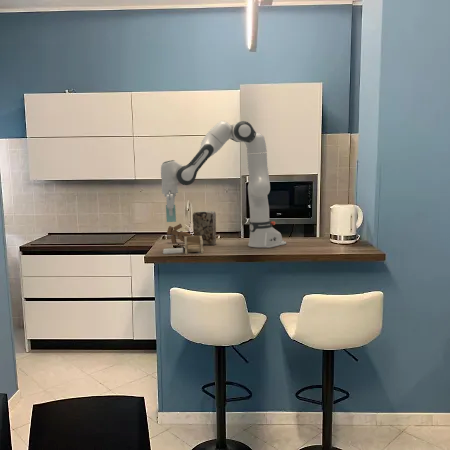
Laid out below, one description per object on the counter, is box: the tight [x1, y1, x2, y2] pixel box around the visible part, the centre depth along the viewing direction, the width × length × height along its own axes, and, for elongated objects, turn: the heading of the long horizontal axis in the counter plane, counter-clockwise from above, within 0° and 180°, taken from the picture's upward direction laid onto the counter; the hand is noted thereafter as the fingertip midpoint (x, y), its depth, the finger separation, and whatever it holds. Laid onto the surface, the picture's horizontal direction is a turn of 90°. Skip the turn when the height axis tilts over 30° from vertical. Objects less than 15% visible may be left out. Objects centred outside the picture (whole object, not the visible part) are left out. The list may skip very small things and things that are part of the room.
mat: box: [162, 247, 184, 255], centre depth 269 cm, size 11×11×1 cm
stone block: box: [192, 210, 217, 246], centre depth 286 cm, size 13×7×20 cm, turn 77°
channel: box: [183, 235, 204, 255], centre depth 268 cm, size 18×10×7 cm, turn 5°
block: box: [165, 204, 177, 223], centre depth 266 cm, size 5×5×9 cm
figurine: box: [166, 223, 193, 244], centre depth 294 cm, size 13×2×15 cm
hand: (171, 214), depth 266 cm, fingers closed on block, 5 cm apart
